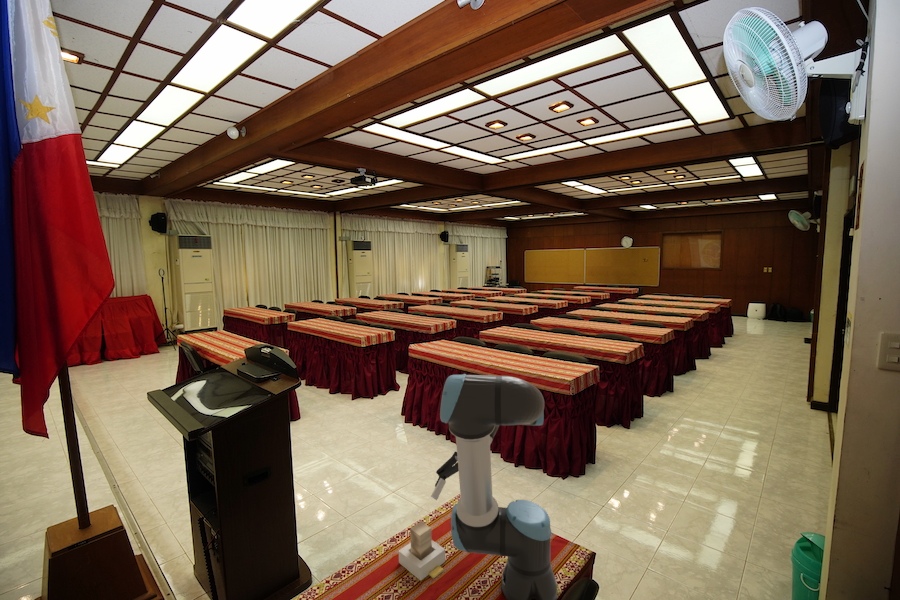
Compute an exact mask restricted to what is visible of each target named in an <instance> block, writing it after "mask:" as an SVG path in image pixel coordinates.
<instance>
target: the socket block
mask: <svg viewBox="0 0 900 600" xmlns="http://www.w3.org/2000/svg"><path fill="white" fill-rule="evenodd" d="M445 562H446V548H444V547H443V546H441V545H440V544H439V543H437V542H436V541H434V540H433V539H432V553H430V554H429V555H428V556H426V557H425V558H424V559H422V560H419V559H418V558H417V557H416V556H414V555H413V554H412V553H411V541H410V542H409V543H407V544H406V545H405V546H403V547H402V548H400V549H399V550H398V563H399V564H400V565H401V566H402V567H403V568H404V569H406V570H407V571H408V572H409V573H411V574H412V575H413V576H414V577H416V578H417V579H418V580H419V581H420V582H421V581H422V580H424V579H425V578H427V577H430V578H431V579H435V578H436V577H438V576H440V574H441V573H443V572H444V571H445V570H444V568H443V567H441V566H442V565H443V564H445Z"/></svg>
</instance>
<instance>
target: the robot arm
mask: <svg viewBox="0 0 900 600" xmlns="http://www.w3.org/2000/svg"><path fill="white" fill-rule="evenodd" d="M439 410H440V411H439V417H440V421H441V423H444V424H448V430H449V432H450V433H451V435H453V436H454V437H455V444H456V445H455V446H456V451H454V453H452V456H450V458H449V459H448V460H447V461H445V462H444V463H443V464H442V465H441V466H440V467H439V468H438V469H437V470H436V471H435V472H436V474H437V476H438V479H437V480H436V483H434V484H435V485H434V487H435V488H434V490H433V492H432V494H431V495H430V497H431V498H432V499H434V500H435V501H438V499H439V497H440V495H441V492H442V490H444V487H445V485H446V482H447V481H446V479H448V478H450V477H452V476H453V475H455V474H457V473H458V477H459V478H458V479H459V490H460V492H459V493H460V498H459V499H458V501H457V503H455V504H454V506H453V508H452V510H451V515H450V526H451V528H450V529H451V540H452V543H453V546H454V548H456V550H458V551H461V552H466V553H470V554H471V553H472V554H482V555H493V556H502V557H507V561H506V564H505V565H504V569H503V571H502V575H501V590H502V593H503V595H504V597H505V599H506V600H557V598H558V582H557V578H556V576H555V574H554V571H553V567H552V563H551V562H552V560H551V557H552V556H551V555H552V554H551V536H552V529H551V520H550V516H549V514H548V512H547V511H546V509H544V507H542V506H540V505H539V504H538V503H536V502H534V501H531V500H528V499H516V500H515V501H514V500H512V501H511V502H509V503H508V505H507V507H502V506H499V504H498V501H497V499H496V498H495V497H494V496H493V483H492V482H493V481H492V461H491V459H492V458H491V456H492V455H491V444H492V442H493V440H494V438H495V435H496V434H497V432H498V430H499V427H500V426H520V425H522V426H533V427H535V426H543V425H544V420H545V418H544V417H545V414H544V410H545V399H544V395H543V394H542V392H541V391H540V390H539V388H537V387H536V386H535V385H534V384H532V383H530V382H528V381H526V380H524V379H521V378H519V377H515V376H511V375H488V374H487V375H486V374H481V375H480V374H466V373H463V374H452V375H449V376H448V377H447V378H446V379H445V382H444V385H443V390H442V395H441V400H440V408H439Z"/></svg>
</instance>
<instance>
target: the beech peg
mask: <svg viewBox="0 0 900 600" xmlns="http://www.w3.org/2000/svg"><path fill="white" fill-rule="evenodd" d="M409 533H410V534H409V535H410V542H411V553H412V554H413V555H414V556H416V557H417V558H418V559H419V560H422V559H424V558H425V557H426V556H428V555H429V554H430V553H432V540H433V539H432V538H433V537H432V528H431V526H429V525H427V523H425V522H423V521H420V522H418V523H417V524H415V525H413V526H412V527H411V528H409Z"/></svg>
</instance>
